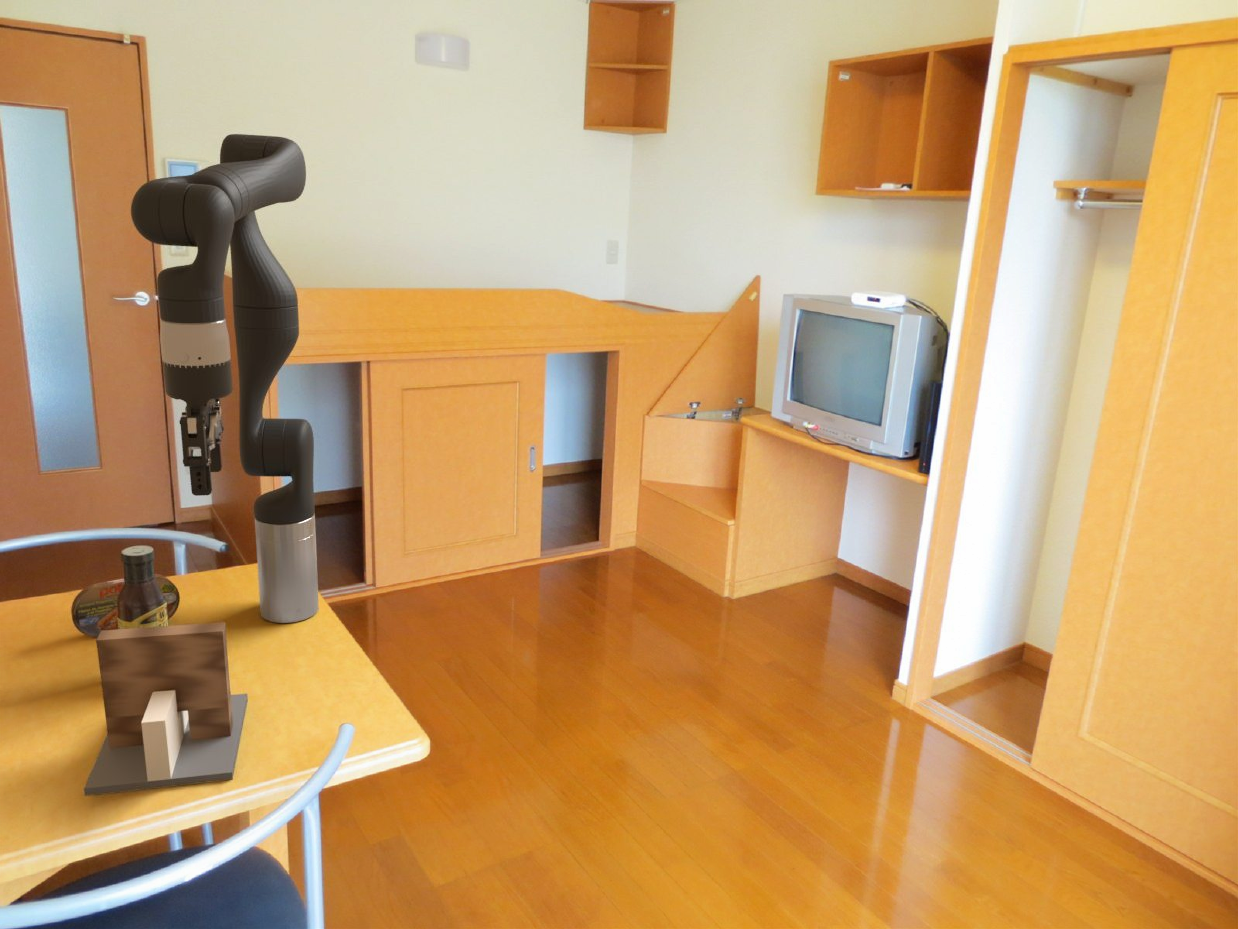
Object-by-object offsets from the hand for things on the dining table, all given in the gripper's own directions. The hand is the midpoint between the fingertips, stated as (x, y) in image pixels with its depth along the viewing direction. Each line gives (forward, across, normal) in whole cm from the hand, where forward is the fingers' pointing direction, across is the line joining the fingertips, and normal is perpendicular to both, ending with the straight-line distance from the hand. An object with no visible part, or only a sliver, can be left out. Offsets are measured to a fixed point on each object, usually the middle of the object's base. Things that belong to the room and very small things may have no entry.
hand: (207, 482), depth 115 cm
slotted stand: (+33, -8, +5) cm, 34 cm away
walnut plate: (+32, -8, +5) cm, 33 cm away
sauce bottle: (+33, +9, +12) cm, 36 cm away
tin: (+34, +26, +18) cm, 46 cm away
